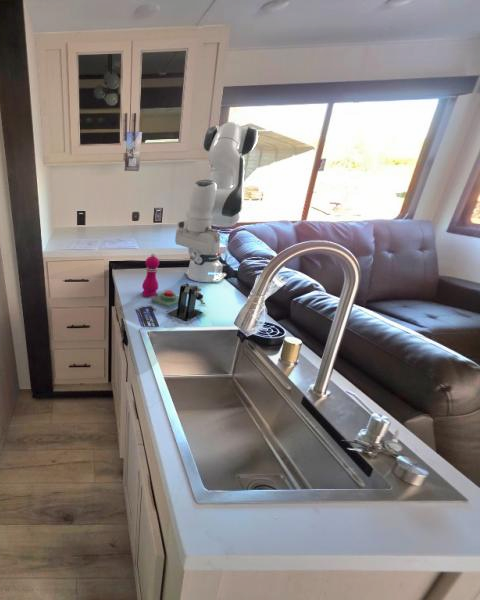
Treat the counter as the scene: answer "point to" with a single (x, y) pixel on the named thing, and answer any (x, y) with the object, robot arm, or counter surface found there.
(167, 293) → the button
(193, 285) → the soupspoon
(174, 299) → the button box
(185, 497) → the counter surface
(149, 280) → the pepper mill
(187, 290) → the lever
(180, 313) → the bracket
